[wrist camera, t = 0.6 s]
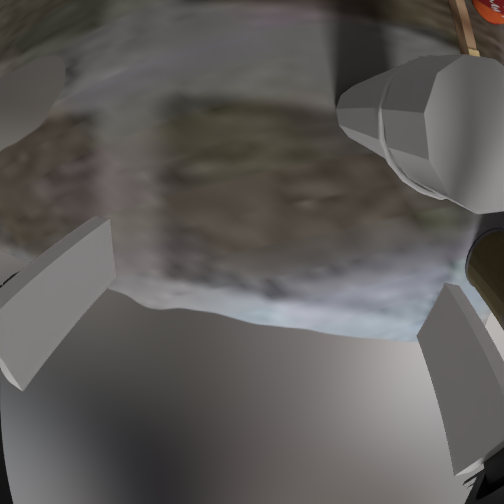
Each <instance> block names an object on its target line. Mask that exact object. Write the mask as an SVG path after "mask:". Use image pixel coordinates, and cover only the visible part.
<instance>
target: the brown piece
mask: <svg viewBox="0 0 504 504" xmlns="http://www.w3.org/2000/svg"><path fill="white" fill-rule="evenodd" d="M448 2H449V5H450V9H451V12H452V16H453V20H454V24H455V28H456V32H457V36H458V41H459V46H460V51H461V54H465V55H472V56H479V51H477V49H476V44H475V40H474V35H473V31H472V27H471V23H470V19H469V16H468V12H467V9H466V5H465V2H464V0H448ZM479 57H480V56H479Z"/></svg>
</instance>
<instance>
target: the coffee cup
mask: <svg viewBox="0 0 504 504" xmlns="http://www.w3.org/2000/svg"><path fill="white" fill-rule="evenodd" d="M472 3H473V5H474V7H475V9H476V10H477V12H478V13H479V14H480V15H481V16H482V17H483V18H484V19H485V20H486V21H488V22H490V23H492V24H504V0H472Z"/></svg>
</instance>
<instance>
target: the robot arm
mask: <svg viewBox="0 0 504 504" xmlns="http://www.w3.org/2000/svg"><path fill="white" fill-rule="evenodd" d="M115 278H116V273H115V265H114V257H113V249H112V239H111V228H110V219H109V218H104V217H98V216H94V217H92V218H91V219H90V220H88V221H87V222H85V223H84V224H82V225H81V226H79V227H78V228H76V229H75V230H74V231H72V232H71V233H69V234H68V235H67V236H65V237H64V238H62V239H61V240H60V241H58V242H57V243H56V244H54V245H53V246H52V247H50V248H49V249H48V250H46V251H45V252H44V253H42V254H41V255H40V256H38V257H37V258H36V259H35V260H33V261H32V262H31V263H30V264H28V265H27V266H26V267H25V268H23V269H22V270H21V271H20V272H18V273H16V274H14V275H12V276H11V277H10V278H9V279H7V280H6V281H5V282H4V283H3V285H0V369H1V371H2V372H3V374H4V375H5V377H6V378H7V380H8V381H9V382H11V383H12V384H13V385H15V386H16V387H18V388H19V389H20V390H22V391H24V389H25V388H26V386H27V385H28V384H29V382H30V381H31V380H32V378H33V377H34V376H35V374H36V373H37V372H38V370H39V369H40V367H41V366H42V365H43V364H44V362H45V361H46V360H47V358H48V357H49V356H50V355H51V353H52V352H53V351H54V349H55V348H56V347H57V346H58V344H59V343H60V342H61V341H62V339H63V338H64V337H65V336H66V335H67V333H68V332H69V331H70V330H71V329H72V327H73V326H74V325H75V324H76V323H77V321H78V320H79V319H80V318H81V317H82V316H83V314H84V313H85V312H86V311H87V310H88V308H89V307H90V306H91V305H92V304H93V303H94V302H95V301H96V299H97V298H98V297H99V296H100V295H101V294H102V293H103V291H104V290H105V289H106V288H107V287H108V286H109V285H110V284H111V283H112V282H113V281H114V279H115ZM417 338H418V341H419V344H420V346H421V349H422V352H423V355H424V358H425V361H426V364H427V367H428V370H429V373H430V377H431V380H432V383H433V386H434V390H435V393H436V397H437V400H438V404H439V408H440V411H441V415H442V419H443V423H444V428H445V432H446V436H447V441H448V445H449V450H450V455H451V461H452V466H453V472H454V476H456V475H460V474H464V473H468V472H471V471H472V470H474V469H475V468H477V467H478V466H480V465H481V464H482V463H483V464H484V469H483V470H481V471H480V472H478V473H477V474H475V475H474V476H472V477H471V478H469V479H468V480H466V481H465V482H464V484H463V486H464V487H465V486H466V485H468V484H470V483H471V482H473V481H475V482H474V483H473V484H472V485H470V486H469V487H468V488H467V489H469V490H470V493H469V496H468V498H467V500H466V502H465V504H504V361H503V359H502V358H501V356H500V353H499V352H498V350H497V348H496V346H495V344H494V342H493V340H492V339H491V337H490V335H489V333H488V331H487V330H486V328H485V326H484V325H483V323H482V321H481V319H480V318H479V316H478V315H477V313H476V311H475V310H474V308H473V306H472V305H471V303H470V302H469V300H468V299H467V297H466V296H465V294H464V292H463V291H462V289H461V288H460V286H458V285H453V284H448V283H445V284H444V286H443V288H442V290H441V292H440V294H439V296H438V298H437V300H436V302H435V304H434V306H433V308H432V310H431V311H430V313H429V315H428V317H427V319H426V320H425V322H424V324H423V326H422V327H421V329H420V331H419V333H418V334H417ZM0 415H1V414H0ZM0 504H13V501H12V496H11V492H10V487H9V483H8V477H7V472H6V466H5V459H4V452H3V443H2V432H1V416H0Z"/></svg>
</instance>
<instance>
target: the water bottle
mask: <svg viewBox="0 0 504 504" xmlns="http://www.w3.org/2000/svg"><path fill="white" fill-rule="evenodd" d="M336 113H337V118H338V123H339V126H340V127H341V128H342V129H343V131H344V132H345V133H346V134H347V135H348V137H349V138H351V139H353V140H355V141H357V142H358V143H360V144H362V145H364V146H365V147H367V148H369V149H370V150H372V151H374V152H375V153H377V154H379V155H380V156H382V157H384V158H385V159H386V160H387V163H388V164H389V165H390V166H391V168H392V169H393V170H394V171H395V173H396V174H397V175H398V176H399V177H400V179H401V180H402V181H403V182H405V183H406V184H408V185H409V186H411V187H412V188H414V189H415V190H417V191H418V192H420V193H422V194H425V195H428V196H431V197H434V198H437V199H440V200H442V199H449V200H451V201H453V202H455V203H457V204H459V205H461V206H463V207H464V208H466V209H468V210H470V211H472V212H474V213H476V214H485V213H493V212H502V211H504V66H503V65H501V64H500V63H499V62H498V61H497V60H496V59H491V58H485V57H479V56H472V55H465V54H461V55H445V56H433V55H428V56H419V57H417V58H415V59H413V60H410V61H408V62H407V63H405V64H403V65H400V66H398V67H395V68H393V69H390V70H388V71H386V72H383V73H381V74H378V75H376V76H374V77H372V78H369V79H367V80H365V81H362V82H360V83H358V84H356V85H354V86H352V87H351V88H349V89H348V90H347V91H345V92H344V93H343V94H341V96H340V99H339V102H338V104H337V107H336ZM402 171H403V172H404V173H405V174H406V175H405V174H404V173H403V172H402ZM412 180H413V181H415V182H416V183H415V182H413V181H412ZM417 183H418V184H420V185H422V186H424V187H426V188H428V189H426V188H424V187H422V186H420V185H418V184H417Z"/></svg>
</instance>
